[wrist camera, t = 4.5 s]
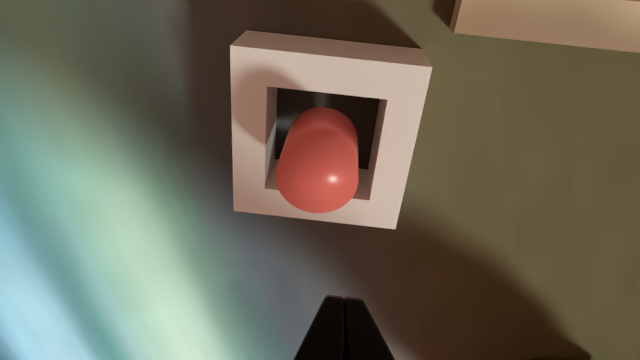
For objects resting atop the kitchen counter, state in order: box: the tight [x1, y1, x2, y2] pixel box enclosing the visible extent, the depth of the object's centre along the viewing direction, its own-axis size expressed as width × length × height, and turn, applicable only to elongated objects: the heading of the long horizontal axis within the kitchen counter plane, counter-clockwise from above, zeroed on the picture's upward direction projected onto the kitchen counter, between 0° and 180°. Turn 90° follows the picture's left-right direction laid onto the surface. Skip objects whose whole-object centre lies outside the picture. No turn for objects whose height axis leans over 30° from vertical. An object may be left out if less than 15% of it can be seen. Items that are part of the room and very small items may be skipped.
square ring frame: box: [230, 30, 432, 229], centre depth 20 cm, size 8×8×3 cm
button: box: [275, 107, 358, 213], centre depth 18 cm, size 3×3×4 cm
